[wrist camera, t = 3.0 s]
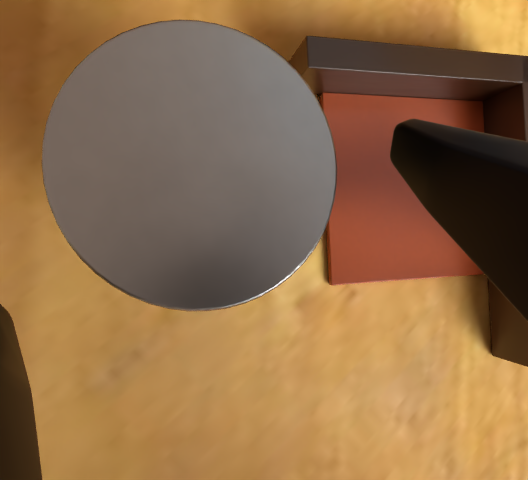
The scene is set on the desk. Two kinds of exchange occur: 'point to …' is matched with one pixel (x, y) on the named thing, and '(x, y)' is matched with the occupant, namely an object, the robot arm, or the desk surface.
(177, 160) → the tea tin
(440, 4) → the desk surface
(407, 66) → the corner rail
